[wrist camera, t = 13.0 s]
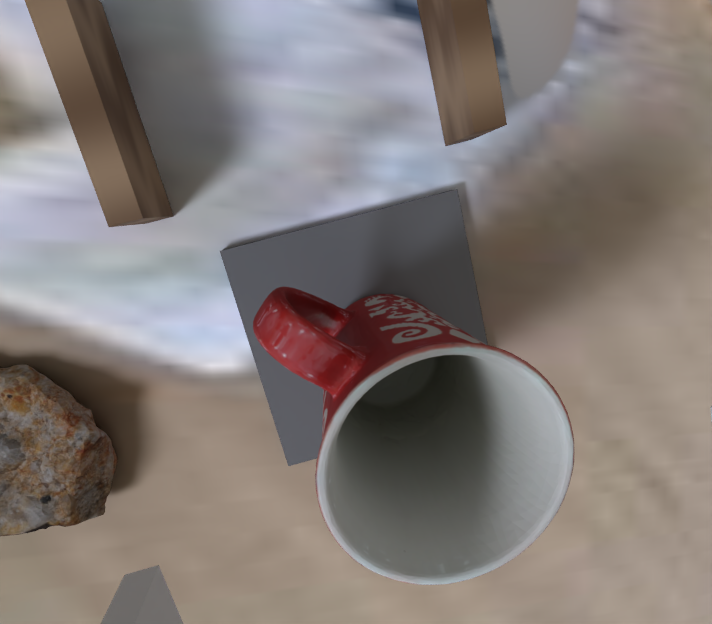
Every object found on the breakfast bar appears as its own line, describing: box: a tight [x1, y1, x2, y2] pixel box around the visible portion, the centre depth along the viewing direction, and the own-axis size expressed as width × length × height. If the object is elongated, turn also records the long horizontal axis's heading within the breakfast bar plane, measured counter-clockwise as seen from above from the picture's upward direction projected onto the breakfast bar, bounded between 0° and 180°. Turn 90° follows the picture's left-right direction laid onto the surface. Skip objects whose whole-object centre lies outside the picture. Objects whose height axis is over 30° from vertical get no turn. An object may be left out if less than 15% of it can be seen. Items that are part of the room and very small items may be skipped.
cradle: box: [25, 0, 507, 227], centre depth 23 cm, size 11×19×5 cm, turn 104°
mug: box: [253, 287, 574, 585], centre depth 22 cm, size 13×9×14 cm
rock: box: [0, 364, 117, 536], centre depth 27 cm, size 9×6×10 cm
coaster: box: [220, 189, 488, 466], centre depth 29 cm, size 14×14×1 cm
